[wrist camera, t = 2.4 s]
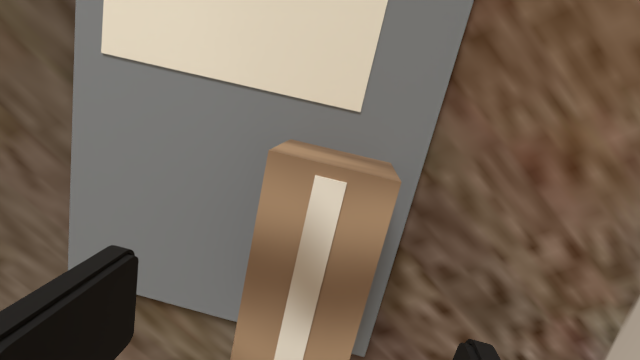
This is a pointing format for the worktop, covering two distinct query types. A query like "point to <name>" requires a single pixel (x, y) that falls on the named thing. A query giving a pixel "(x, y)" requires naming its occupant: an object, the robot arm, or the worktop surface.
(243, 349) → the block
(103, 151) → the mat
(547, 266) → the worktop surface
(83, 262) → the robot arm
